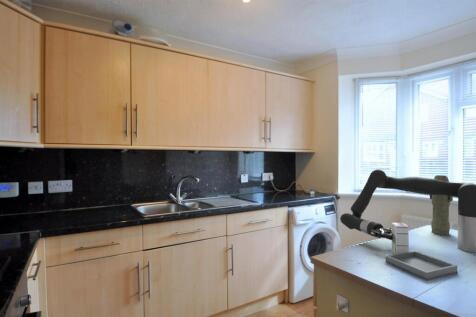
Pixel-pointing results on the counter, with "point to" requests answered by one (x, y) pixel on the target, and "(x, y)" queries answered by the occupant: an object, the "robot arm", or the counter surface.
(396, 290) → the counter surface
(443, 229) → the thermos
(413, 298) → the counter surface
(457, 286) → the counter surface
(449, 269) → the slate tray
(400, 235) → the syrup box
